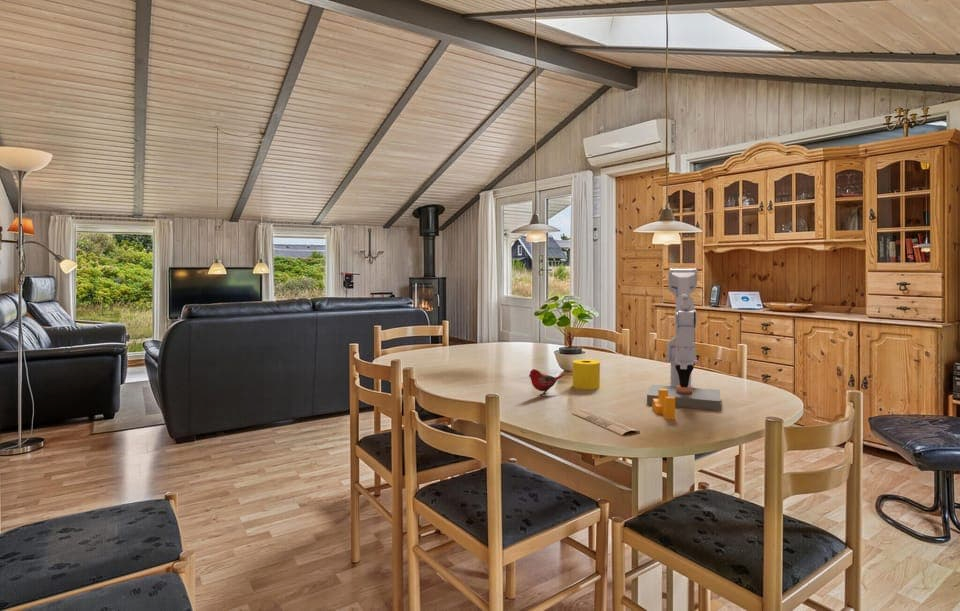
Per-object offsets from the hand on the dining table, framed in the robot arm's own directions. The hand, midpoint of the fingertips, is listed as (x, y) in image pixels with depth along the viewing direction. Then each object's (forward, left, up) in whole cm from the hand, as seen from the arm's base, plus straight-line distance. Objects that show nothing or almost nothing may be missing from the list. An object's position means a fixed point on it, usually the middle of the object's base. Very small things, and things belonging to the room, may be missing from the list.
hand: (684, 386), depth 178 cm
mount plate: (0, 0, -5) cm, 5 cm away
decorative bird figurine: (+8, -45, -5) cm, 46 cm away
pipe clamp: (+18, -5, -5) cm, 19 cm away
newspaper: (+35, -21, -6) cm, 41 cm away
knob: (0, 0, -4) cm, 4 cm away
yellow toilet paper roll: (-10, -35, -5) cm, 37 cm away
